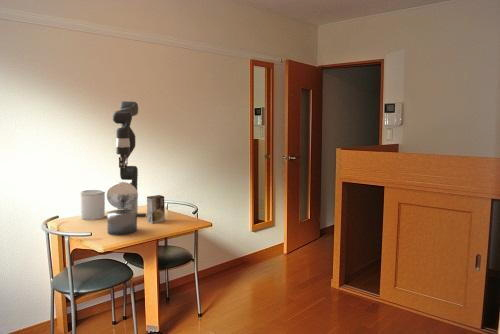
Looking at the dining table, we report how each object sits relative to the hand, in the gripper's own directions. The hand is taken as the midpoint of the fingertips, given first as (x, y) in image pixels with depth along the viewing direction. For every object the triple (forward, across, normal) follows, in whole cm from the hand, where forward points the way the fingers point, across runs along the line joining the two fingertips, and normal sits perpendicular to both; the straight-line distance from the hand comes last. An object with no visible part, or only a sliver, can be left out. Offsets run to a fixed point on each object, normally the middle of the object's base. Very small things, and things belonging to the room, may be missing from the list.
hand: (123, 173), depth 231 cm
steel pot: (+31, +13, +4) cm, 34 cm away
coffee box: (+32, -9, +17) cm, 38 cm away
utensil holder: (+33, -22, -24) cm, 46 cm away
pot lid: (+12, +8, 0) cm, 14 cm away
